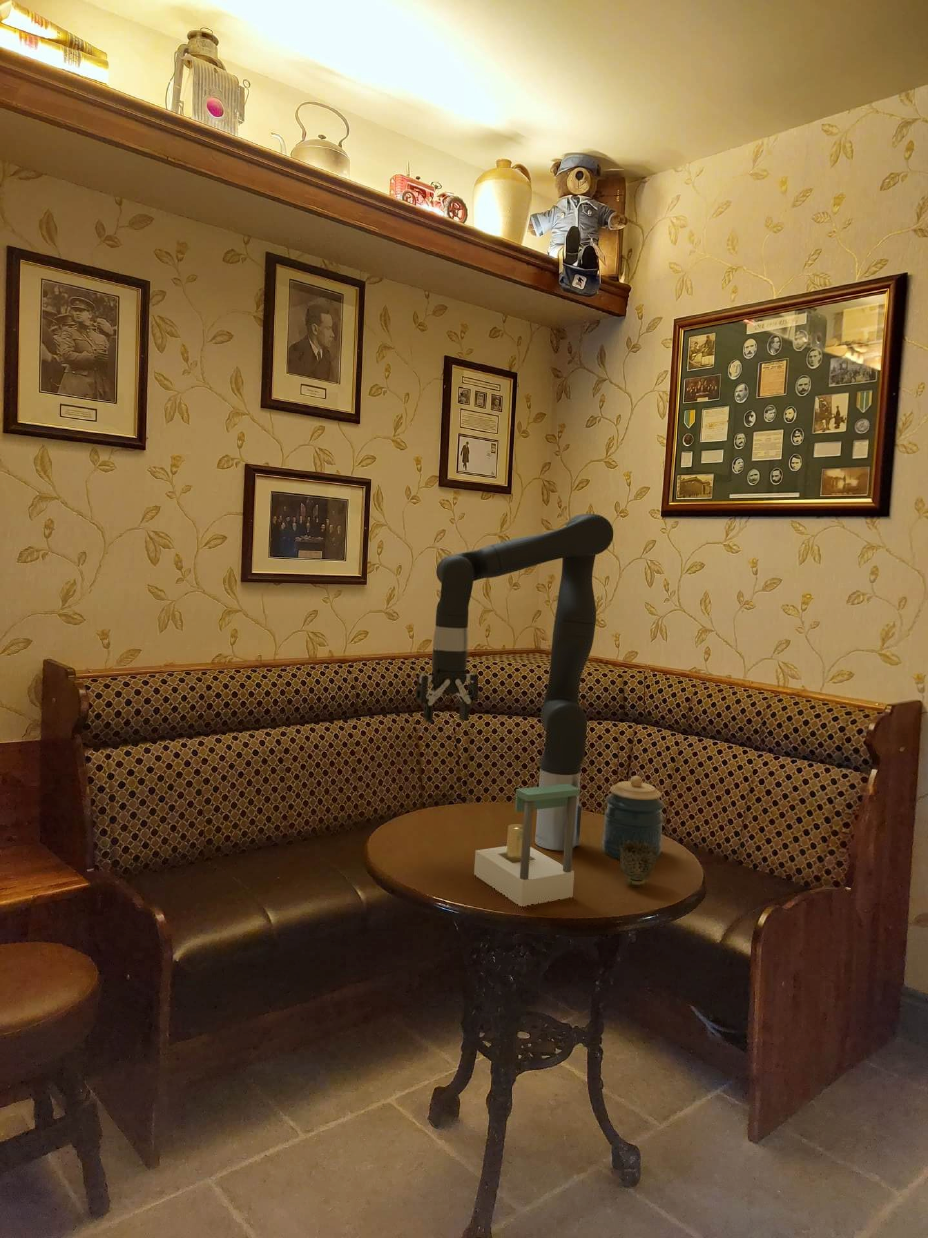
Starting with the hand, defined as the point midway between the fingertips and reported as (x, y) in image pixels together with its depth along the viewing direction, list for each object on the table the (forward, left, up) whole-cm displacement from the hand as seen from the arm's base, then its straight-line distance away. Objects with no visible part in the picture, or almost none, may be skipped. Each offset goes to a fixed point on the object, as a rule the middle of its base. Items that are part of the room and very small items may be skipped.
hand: (445, 721), depth 184 cm
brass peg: (-5, +23, -27) cm, 36 cm away
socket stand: (-5, +25, -28) cm, 38 cm away
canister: (-39, +19, -28) cm, 52 cm away
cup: (-27, +34, -28) cm, 52 cm away
